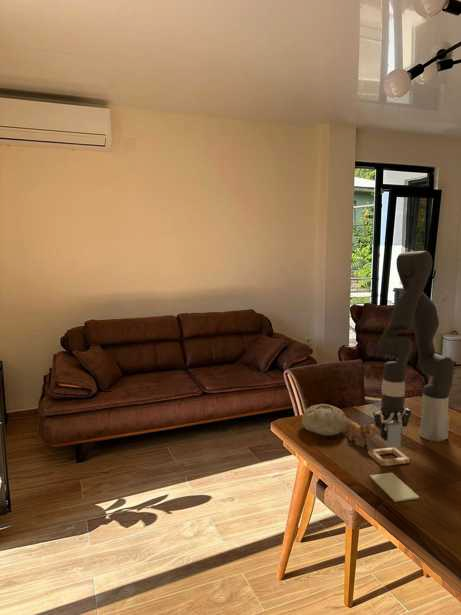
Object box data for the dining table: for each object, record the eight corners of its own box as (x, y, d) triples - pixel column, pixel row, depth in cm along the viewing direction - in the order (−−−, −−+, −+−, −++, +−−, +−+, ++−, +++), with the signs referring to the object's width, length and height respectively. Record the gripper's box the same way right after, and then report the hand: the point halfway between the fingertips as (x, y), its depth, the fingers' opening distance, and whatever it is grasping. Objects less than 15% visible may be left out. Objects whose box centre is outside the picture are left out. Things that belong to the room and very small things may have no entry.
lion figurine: (379, 447, 161) (380, 424, 160) (370, 451, 158) (371, 428, 157) (348, 433, 173) (348, 412, 172) (339, 436, 170) (340, 415, 169)
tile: (391, 474, 142) (392, 472, 142) (419, 498, 129) (419, 496, 129) (370, 476, 141) (370, 475, 141) (395, 501, 127) (395, 499, 127)
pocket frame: (394, 450, 159) (394, 447, 158) (409, 462, 150) (409, 458, 150) (368, 453, 156) (368, 449, 156) (382, 466, 148) (382, 461, 148)
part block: (392, 440, 155) (393, 419, 154) (400, 446, 151) (401, 424, 149) (381, 442, 154) (382, 420, 153) (388, 447, 150) (389, 426, 148)
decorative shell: (325, 445, 163) (326, 419, 162) (292, 428, 177) (292, 405, 176) (355, 433, 174) (356, 409, 172) (321, 418, 188) (322, 396, 186)
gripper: (404, 386, 155) (402, 432, 157) (368, 390, 151) (367, 436, 154) (418, 393, 147) (415, 441, 150) (380, 397, 144) (378, 445, 147)
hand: (390, 438), depth 152 cm, fingers closed on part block, 4 cm apart
